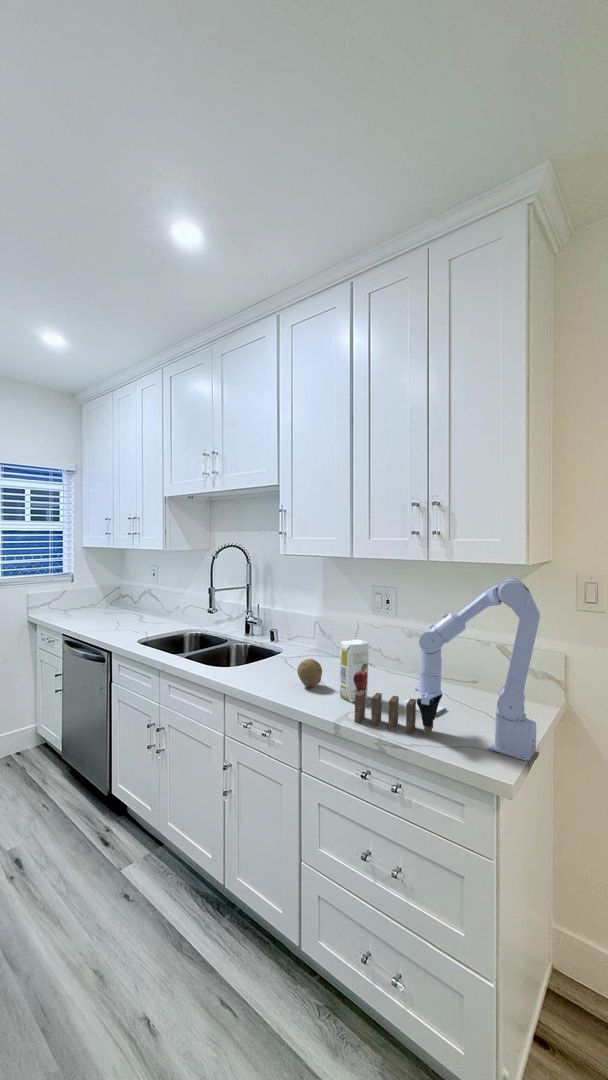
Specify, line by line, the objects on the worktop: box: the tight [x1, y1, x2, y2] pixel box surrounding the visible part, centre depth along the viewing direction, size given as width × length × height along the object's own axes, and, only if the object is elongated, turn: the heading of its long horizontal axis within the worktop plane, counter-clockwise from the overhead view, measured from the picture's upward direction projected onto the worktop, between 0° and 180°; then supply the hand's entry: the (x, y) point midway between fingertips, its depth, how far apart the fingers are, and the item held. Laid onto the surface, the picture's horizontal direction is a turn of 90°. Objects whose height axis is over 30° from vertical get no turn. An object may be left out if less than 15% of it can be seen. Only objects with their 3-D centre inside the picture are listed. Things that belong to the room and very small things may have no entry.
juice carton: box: [339, 639, 370, 703], centre depth 156 cm, size 8×9×19 cm
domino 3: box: [387, 695, 400, 731], centre depth 134 cm, size 2×5×8 cm, turn 155°
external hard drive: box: [398, 697, 447, 717], centre depth 149 cm, size 2×8×12 cm
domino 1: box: [353, 690, 366, 724], centre depth 138 cm, size 2×5×8 cm, turn 155°
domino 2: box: [370, 692, 383, 727], centre depth 136 cm, size 2×5×8 cm, turn 155°
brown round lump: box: [297, 658, 323, 689], centre depth 167 cm, size 9×9×10 cm
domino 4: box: [405, 697, 417, 734], centre depth 132 cm, size 2×5×8 cm, turn 155°
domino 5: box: [423, 699, 434, 734], centre depth 130 cm, size 2×5×8 cm, turn 155°
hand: (429, 722), depth 130 cm, fingers closed on domino 5, 5 cm apart
